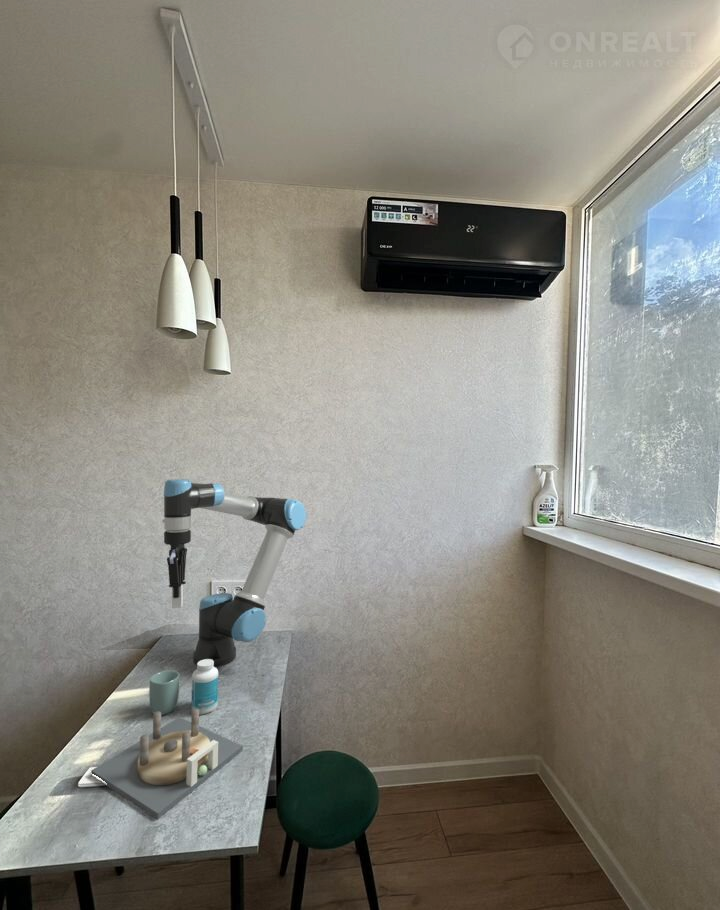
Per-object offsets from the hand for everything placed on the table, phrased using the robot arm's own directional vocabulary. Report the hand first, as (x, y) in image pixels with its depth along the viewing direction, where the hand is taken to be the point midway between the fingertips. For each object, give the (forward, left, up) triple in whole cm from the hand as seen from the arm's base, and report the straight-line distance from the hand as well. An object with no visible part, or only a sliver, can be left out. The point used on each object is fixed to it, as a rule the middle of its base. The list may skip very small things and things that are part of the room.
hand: (177, 606), depth 130 cm
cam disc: (+18, +23, -27) cm, 40 cm away
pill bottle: (-2, +10, -29) cm, 31 cm away
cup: (+5, +1, -29) cm, 29 cm away
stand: (+18, +21, -29) cm, 40 cm away
